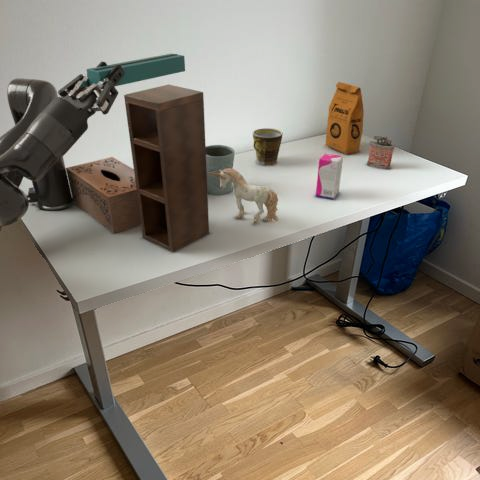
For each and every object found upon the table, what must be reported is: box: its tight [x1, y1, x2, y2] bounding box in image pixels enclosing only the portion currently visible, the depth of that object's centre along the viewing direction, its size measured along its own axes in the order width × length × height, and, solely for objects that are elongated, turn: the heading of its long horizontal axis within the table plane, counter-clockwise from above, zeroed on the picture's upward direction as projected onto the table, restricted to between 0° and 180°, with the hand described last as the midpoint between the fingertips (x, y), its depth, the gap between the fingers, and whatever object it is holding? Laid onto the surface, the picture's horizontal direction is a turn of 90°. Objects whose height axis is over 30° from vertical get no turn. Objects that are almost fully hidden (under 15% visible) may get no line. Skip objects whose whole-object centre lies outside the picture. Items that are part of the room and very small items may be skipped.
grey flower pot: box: [206, 144, 236, 196], centre depth 148 cm, size 10×10×12 cm
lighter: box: [366, 134, 395, 170], centre depth 165 cm, size 8×3×10 cm, turn 58°
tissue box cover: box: [65, 156, 141, 234], centre depth 137 cm, size 26×14×10 cm, turn 39°
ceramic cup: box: [252, 127, 283, 167], centre depth 167 cm, size 13×10×10 cm
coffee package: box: [324, 81, 364, 156], centre depth 175 cm, size 10×12×22 cm
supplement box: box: [315, 152, 344, 200], centre depth 145 cm, size 6×6×12 cm
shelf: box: [123, 84, 210, 253], centre depth 117 cm, size 13×11×34 cm
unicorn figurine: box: [207, 168, 280, 225], centre depth 132 cm, size 7×20×13 cm, turn 74°
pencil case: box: [86, 52, 186, 90], centre depth 100 cm, size 22×4×3 cm, turn 139°
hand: (113, 67), depth 95 cm, fingers closed on pencil case, 4 cm apart
